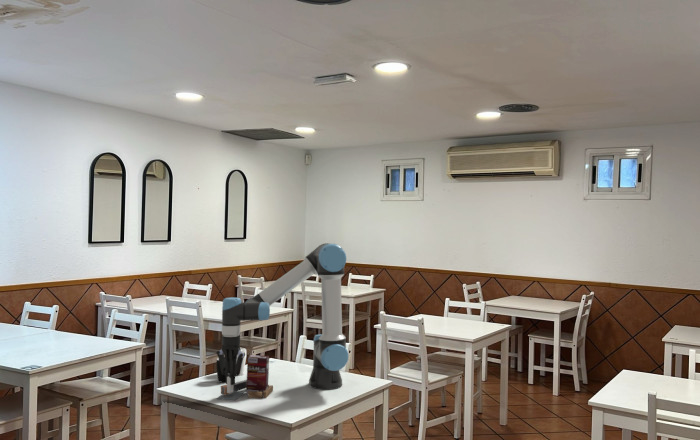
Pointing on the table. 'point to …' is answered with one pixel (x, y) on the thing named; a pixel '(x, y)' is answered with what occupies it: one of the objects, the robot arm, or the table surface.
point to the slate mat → (231, 395)
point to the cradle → (259, 394)
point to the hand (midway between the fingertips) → (230, 392)
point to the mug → (219, 375)
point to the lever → (234, 387)
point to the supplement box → (257, 373)
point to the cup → (242, 361)
